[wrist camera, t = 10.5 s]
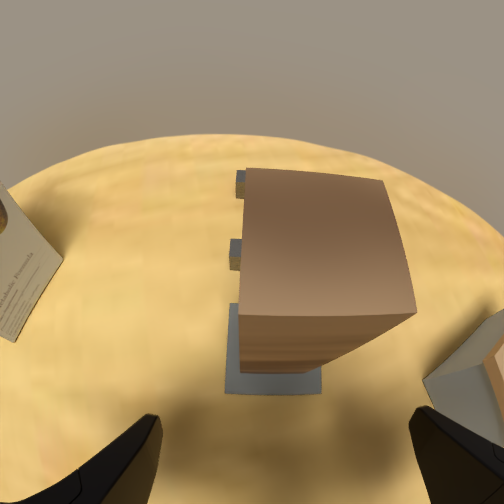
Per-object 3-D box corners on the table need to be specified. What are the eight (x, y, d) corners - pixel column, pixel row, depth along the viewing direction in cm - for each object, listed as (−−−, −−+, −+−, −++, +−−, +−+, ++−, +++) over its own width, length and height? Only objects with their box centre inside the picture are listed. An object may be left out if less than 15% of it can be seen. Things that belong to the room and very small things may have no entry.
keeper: (311, 273, 20) (318, 260, 19) (230, 270, 20) (229, 256, 19) (304, 190, 25) (308, 174, 23) (237, 186, 24) (237, 170, 23)
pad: (318, 393, 16) (321, 393, 16) (225, 393, 16) (224, 393, 15) (316, 308, 19) (318, 305, 19) (230, 305, 19) (229, 303, 18)
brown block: (304, 373, 16) (417, 312, 5) (240, 373, 16) (237, 314, 5) (302, 314, 18) (382, 180, 7) (242, 312, 18) (246, 167, 7)
